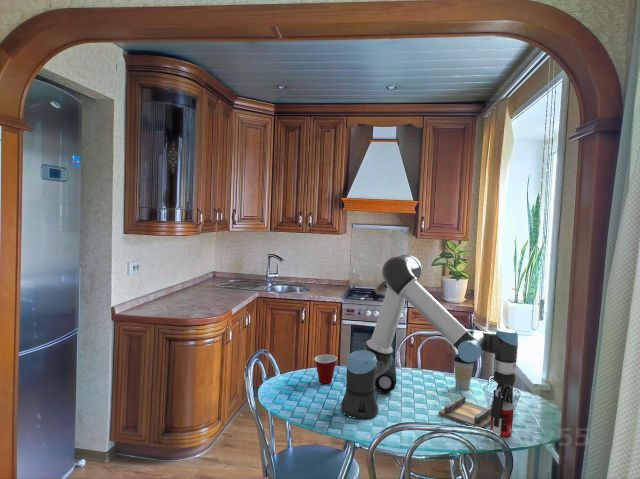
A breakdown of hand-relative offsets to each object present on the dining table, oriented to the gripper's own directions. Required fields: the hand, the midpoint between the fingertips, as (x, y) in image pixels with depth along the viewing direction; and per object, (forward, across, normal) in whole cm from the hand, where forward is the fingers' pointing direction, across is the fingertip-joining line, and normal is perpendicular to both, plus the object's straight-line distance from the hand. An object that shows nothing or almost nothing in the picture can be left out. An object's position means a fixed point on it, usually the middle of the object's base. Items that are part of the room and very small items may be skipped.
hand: (500, 430), depth 176 cm
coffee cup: (+1, +32, +30) cm, 44 cm away
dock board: (+1, +6, +15) cm, 16 cm away
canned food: (+1, 0, 0) cm, 1 cm away
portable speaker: (+1, +9, +58) cm, 58 cm away
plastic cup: (+1, -11, +78) cm, 79 cm away
